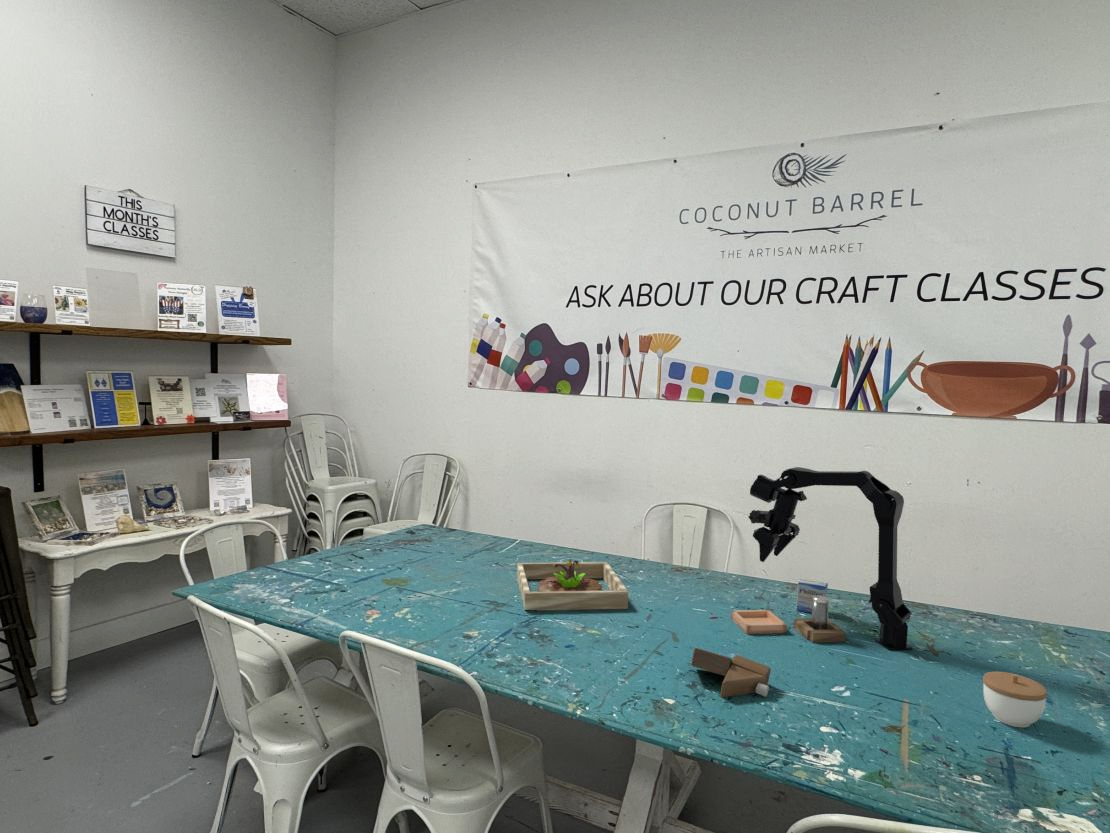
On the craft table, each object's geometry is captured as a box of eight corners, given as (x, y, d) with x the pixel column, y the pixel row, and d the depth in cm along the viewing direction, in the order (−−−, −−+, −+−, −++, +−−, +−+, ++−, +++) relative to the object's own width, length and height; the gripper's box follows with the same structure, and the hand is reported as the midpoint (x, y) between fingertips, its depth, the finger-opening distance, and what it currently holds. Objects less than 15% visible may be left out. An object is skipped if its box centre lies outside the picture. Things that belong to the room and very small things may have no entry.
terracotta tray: (786, 633, 179) (786, 624, 179) (747, 634, 178) (747, 625, 178) (767, 617, 190) (768, 609, 190) (730, 618, 189) (731, 610, 189)
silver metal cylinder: (829, 637, 177) (832, 600, 177) (815, 637, 177) (817, 600, 176) (821, 631, 181) (824, 595, 181) (808, 631, 181) (810, 595, 180)
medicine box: (795, 610, 197) (797, 582, 196) (798, 606, 201) (799, 577, 200) (824, 616, 193) (826, 586, 192) (826, 611, 197) (827, 582, 196)
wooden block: (757, 721, 139) (676, 686, 148) (773, 689, 150) (697, 658, 159) (762, 691, 138) (680, 657, 146) (779, 660, 149) (702, 630, 157)
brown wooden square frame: (846, 641, 175) (847, 632, 175) (810, 642, 173) (811, 633, 173) (826, 626, 185) (826, 617, 184) (792, 627, 183) (792, 618, 183)
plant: (529, 600, 200) (530, 563, 199) (545, 580, 219) (546, 547, 218) (594, 607, 196) (596, 570, 195) (605, 587, 215) (607, 552, 214)
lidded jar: (1018, 706, 142) (1021, 663, 142) (1057, 734, 132) (1061, 688, 131) (968, 706, 142) (972, 663, 141) (1004, 733, 131) (1008, 687, 131)
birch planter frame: (627, 608, 194) (628, 591, 194) (524, 610, 191) (525, 593, 190) (606, 576, 224) (606, 561, 224) (516, 577, 220) (517, 562, 220)
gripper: (772, 494, 204) (758, 541, 207) (744, 502, 190) (729, 552, 193) (807, 509, 197) (791, 557, 200) (780, 518, 183) (764, 569, 186)
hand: (768, 558), depth 195 cm, fingers open, 9 cm apart
